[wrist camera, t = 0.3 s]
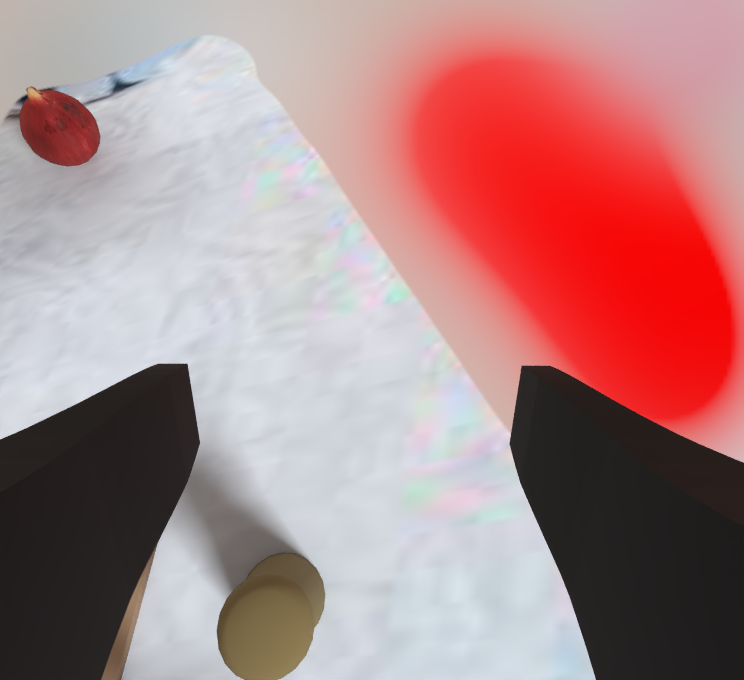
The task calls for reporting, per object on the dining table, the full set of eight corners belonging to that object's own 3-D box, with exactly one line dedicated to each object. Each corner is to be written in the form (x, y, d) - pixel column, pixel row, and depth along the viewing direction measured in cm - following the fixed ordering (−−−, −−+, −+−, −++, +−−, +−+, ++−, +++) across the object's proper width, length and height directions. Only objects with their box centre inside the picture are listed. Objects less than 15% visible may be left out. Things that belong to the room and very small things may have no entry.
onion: (120, 137, 48) (80, 66, 40) (105, 187, 46) (60, 122, 38) (58, 130, 47) (6, 58, 40) (40, 180, 46) (-18, 114, 38)
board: (92, 786, 31) (84, 795, 30) (5, 774, 31) (-7, 783, 30) (159, 534, 36) (154, 534, 35) (84, 523, 36) (77, 523, 35)
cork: (311, 656, 35) (301, 717, 24) (228, 633, 35) (183, 684, 24) (334, 564, 37) (335, 584, 26) (256, 543, 37) (226, 554, 26)
